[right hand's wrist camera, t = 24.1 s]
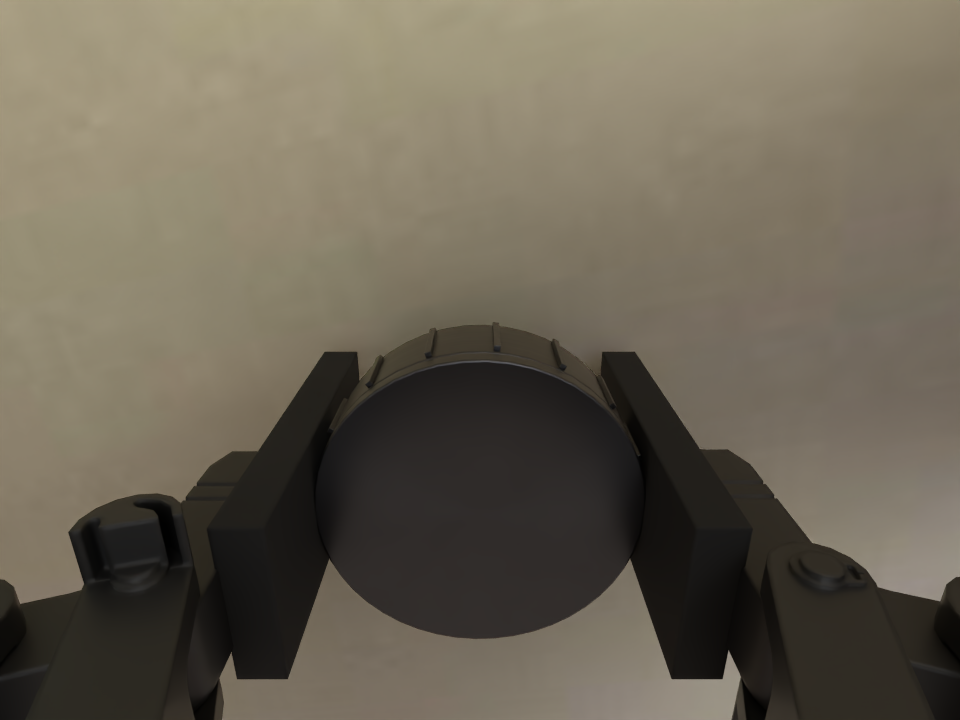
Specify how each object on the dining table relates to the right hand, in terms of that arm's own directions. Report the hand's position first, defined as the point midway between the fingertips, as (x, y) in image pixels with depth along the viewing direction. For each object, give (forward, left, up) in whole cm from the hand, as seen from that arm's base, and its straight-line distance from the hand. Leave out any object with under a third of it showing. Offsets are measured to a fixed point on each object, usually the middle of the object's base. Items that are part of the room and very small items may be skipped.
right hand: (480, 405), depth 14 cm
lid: (0, 0, +4) cm, 4 cm away
